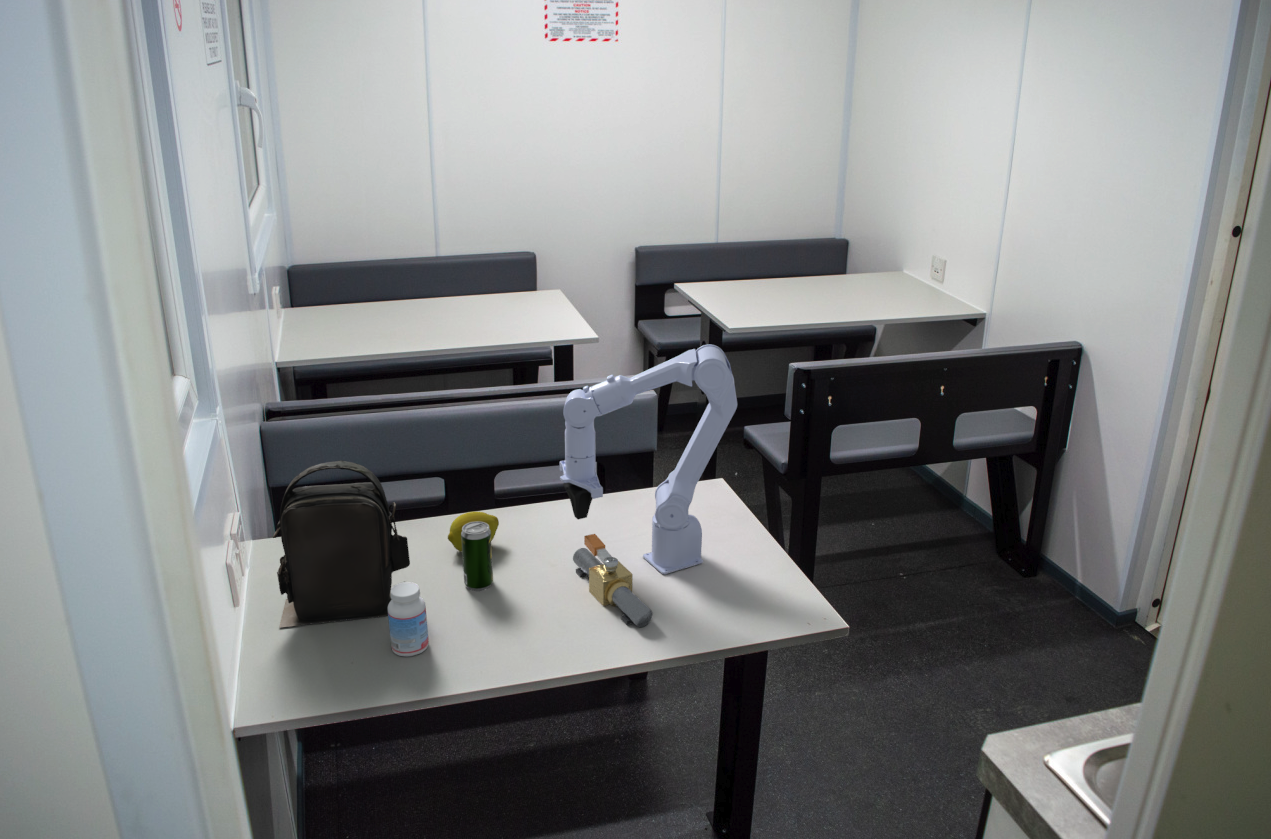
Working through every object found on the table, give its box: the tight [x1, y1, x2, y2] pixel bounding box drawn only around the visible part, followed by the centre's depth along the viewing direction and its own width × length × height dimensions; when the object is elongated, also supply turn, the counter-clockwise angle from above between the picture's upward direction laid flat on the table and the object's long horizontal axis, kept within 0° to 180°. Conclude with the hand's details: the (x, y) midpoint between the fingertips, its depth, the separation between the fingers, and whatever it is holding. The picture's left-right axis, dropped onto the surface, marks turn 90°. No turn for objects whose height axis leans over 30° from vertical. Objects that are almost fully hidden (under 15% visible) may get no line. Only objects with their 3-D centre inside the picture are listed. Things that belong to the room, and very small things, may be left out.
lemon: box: [447, 511, 500, 553], centre depth 179 cm, size 11×8×8 cm
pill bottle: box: [387, 581, 430, 657], centre depth 147 cm, size 6×6×11 cm
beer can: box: [461, 521, 494, 592], centre depth 166 cm, size 5×5×12 cm
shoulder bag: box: [272, 460, 411, 629], centre depth 155 cm, size 23×9×28 cm, turn 103°
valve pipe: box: [572, 547, 654, 628], centre depth 164 cm, size 6×24×5 cm, turn 30°
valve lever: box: [583, 533, 619, 573], centre depth 167 cm, size 11×3×2 cm, turn 25°
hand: (580, 517), depth 174 cm, fingers closed
